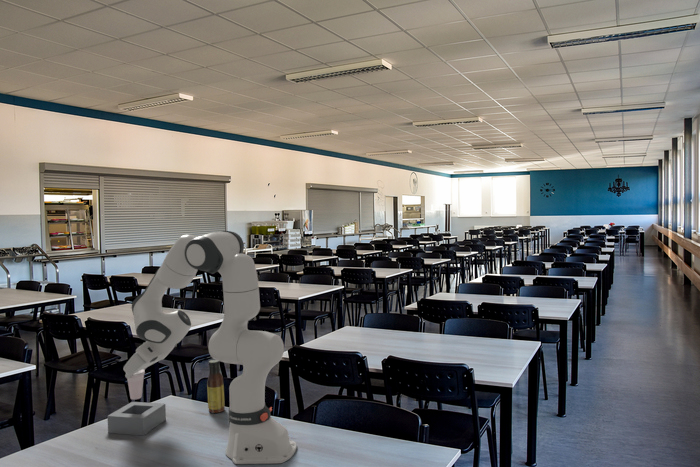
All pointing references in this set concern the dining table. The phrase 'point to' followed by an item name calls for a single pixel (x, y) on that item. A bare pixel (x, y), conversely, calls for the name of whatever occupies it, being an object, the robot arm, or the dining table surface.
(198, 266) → the robot arm
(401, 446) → the dining table surface
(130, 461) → the dining table surface
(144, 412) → the box
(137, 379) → the smoothie
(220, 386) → the sauce bottle
